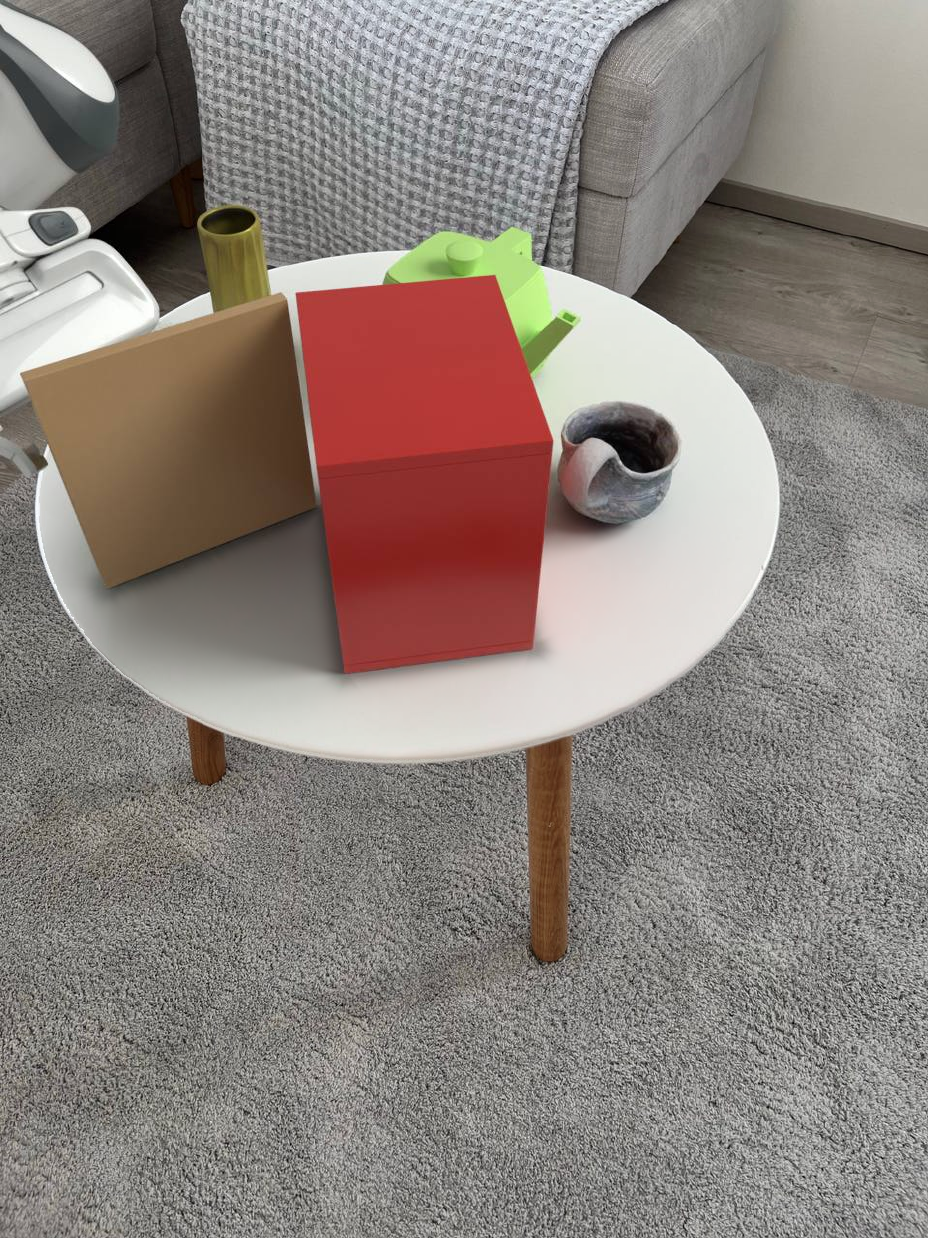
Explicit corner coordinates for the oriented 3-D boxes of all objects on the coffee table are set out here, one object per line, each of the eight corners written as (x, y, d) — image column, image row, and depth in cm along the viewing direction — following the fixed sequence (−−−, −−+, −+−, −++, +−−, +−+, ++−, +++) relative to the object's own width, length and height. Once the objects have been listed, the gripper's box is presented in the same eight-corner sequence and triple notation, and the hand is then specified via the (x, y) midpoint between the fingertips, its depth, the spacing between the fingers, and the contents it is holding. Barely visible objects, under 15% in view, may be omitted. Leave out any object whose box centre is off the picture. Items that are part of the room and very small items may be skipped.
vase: (290, 342, 99) (270, 203, 88) (277, 381, 96) (254, 240, 85) (229, 338, 100) (202, 199, 89) (213, 376, 96) (183, 236, 85)
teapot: (618, 363, 98) (636, 237, 88) (505, 479, 87) (512, 351, 77) (460, 300, 104) (460, 177, 94) (337, 402, 94) (323, 274, 84)
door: (80, 538, 82) (-4, 328, 67) (285, 462, 88) (250, 254, 73) (106, 589, 79) (23, 380, 63) (317, 507, 85) (287, 298, 69)
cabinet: (344, 674, 74) (316, 466, 58) (323, 503, 85) (295, 291, 70) (533, 649, 75) (553, 440, 60) (487, 485, 87) (495, 274, 71)
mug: (681, 482, 87) (704, 387, 79) (639, 582, 80) (658, 488, 72) (575, 452, 89) (586, 357, 82) (524, 546, 82) (531, 451, 74)
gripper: (-169, 322, 64) (-25, 505, 68) (98, 198, 74) (211, 363, 78) (-172, 353, 69) (-38, 522, 73) (78, 234, 79) (185, 387, 83)
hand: (92, 439), depth 75 cm, fingers open, 8 cm apart
